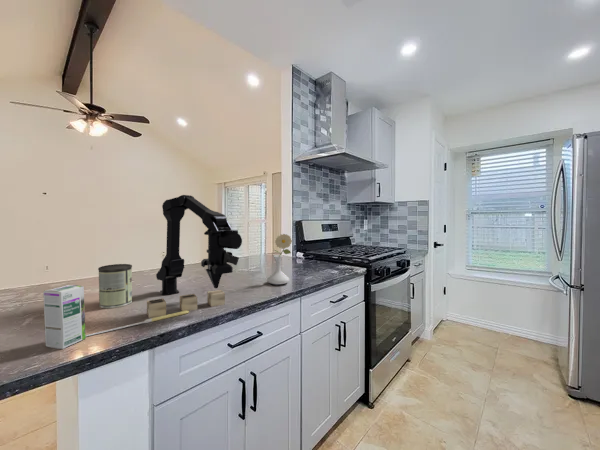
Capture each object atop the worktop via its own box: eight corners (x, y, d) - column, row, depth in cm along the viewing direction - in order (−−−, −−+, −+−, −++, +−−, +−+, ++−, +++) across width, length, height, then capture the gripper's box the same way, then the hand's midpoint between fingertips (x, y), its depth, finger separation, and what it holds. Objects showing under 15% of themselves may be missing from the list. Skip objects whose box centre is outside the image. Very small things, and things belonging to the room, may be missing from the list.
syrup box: (62, 349, 65) (61, 291, 64) (44, 346, 66) (42, 289, 66) (86, 339, 71) (85, 285, 70) (68, 336, 72) (67, 283, 71)
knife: (59, 337, 71) (59, 340, 68) (185, 309, 94) (189, 310, 90) (59, 342, 71) (59, 345, 68) (185, 312, 94) (190, 313, 90)
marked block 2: (179, 308, 96) (179, 295, 96) (194, 305, 99) (194, 293, 98) (182, 312, 92) (182, 298, 91) (197, 309, 94) (197, 296, 94)
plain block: (207, 303, 101) (207, 291, 101) (220, 301, 104) (220, 289, 104) (211, 307, 97) (211, 295, 97) (224, 304, 100) (224, 292, 100)
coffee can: (96, 303, 99) (96, 266, 98) (128, 297, 106) (128, 262, 106) (101, 310, 92) (100, 270, 91) (135, 304, 99) (135, 266, 98)
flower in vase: (262, 284, 129) (262, 233, 129) (273, 279, 140) (273, 232, 139) (286, 287, 124) (287, 234, 124) (296, 282, 135) (296, 233, 134)
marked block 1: (146, 313, 90) (146, 300, 90) (163, 310, 93) (163, 297, 93) (149, 318, 86) (149, 304, 86) (166, 315, 89) (166, 301, 89)
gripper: (246, 248, 97) (245, 290, 98) (228, 243, 112) (227, 280, 113) (216, 250, 91) (215, 295, 91) (200, 245, 106) (200, 283, 106)
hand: (215, 288), depth 100 cm, fingers closed
